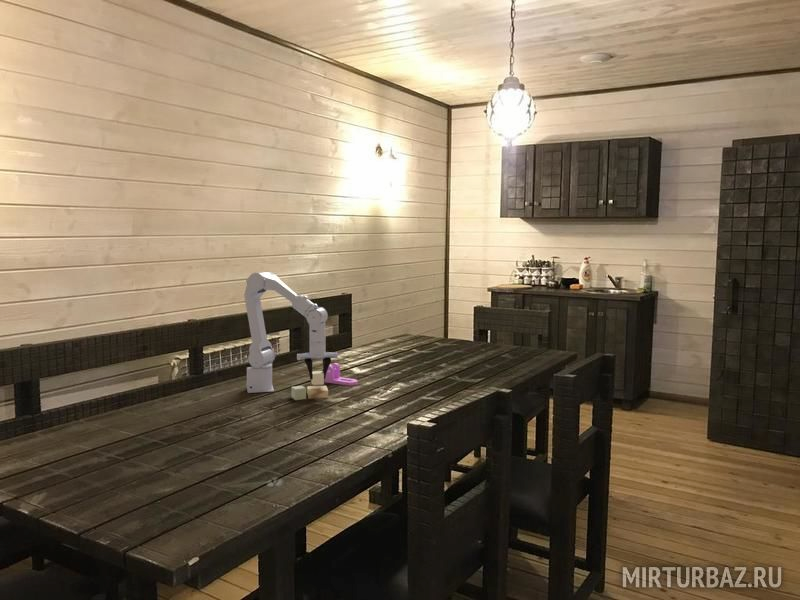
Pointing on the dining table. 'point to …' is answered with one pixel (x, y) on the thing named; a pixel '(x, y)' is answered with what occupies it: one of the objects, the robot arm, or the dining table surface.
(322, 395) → the oak slab
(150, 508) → the dining table surface
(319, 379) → the cream cube
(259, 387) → the robot arm
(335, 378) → the bracket
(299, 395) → the sage cube
